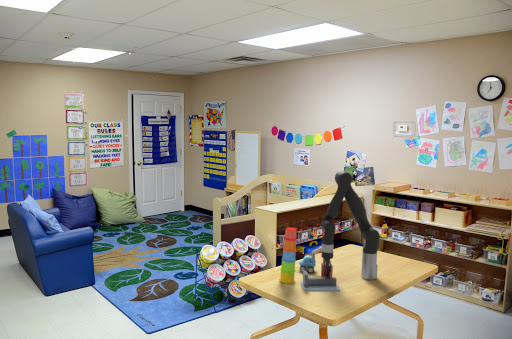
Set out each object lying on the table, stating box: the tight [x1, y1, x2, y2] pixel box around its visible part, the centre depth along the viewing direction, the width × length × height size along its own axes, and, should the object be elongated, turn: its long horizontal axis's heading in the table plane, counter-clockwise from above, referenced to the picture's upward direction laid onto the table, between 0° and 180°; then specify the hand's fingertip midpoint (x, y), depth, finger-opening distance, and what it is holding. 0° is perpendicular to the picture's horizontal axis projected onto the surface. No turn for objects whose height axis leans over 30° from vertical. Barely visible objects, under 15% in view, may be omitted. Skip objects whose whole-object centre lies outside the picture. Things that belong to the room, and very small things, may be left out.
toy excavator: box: [298, 246, 322, 274], centre depth 272 cm, size 9×17×17 cm, turn 78°
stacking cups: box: [278, 226, 298, 285], centre depth 251 cm, size 10×10×35 cm
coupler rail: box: [302, 270, 337, 288], centre depth 245 cm, size 20×7×8 cm, turn 93°
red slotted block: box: [320, 262, 334, 277], centre depth 258 cm, size 6×6×9 cm
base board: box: [299, 281, 341, 292], centre depth 245 cm, size 22×12×1 cm, turn 93°
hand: (326, 275), depth 258 cm, fingers closed on red slotted block, 6 cm apart
